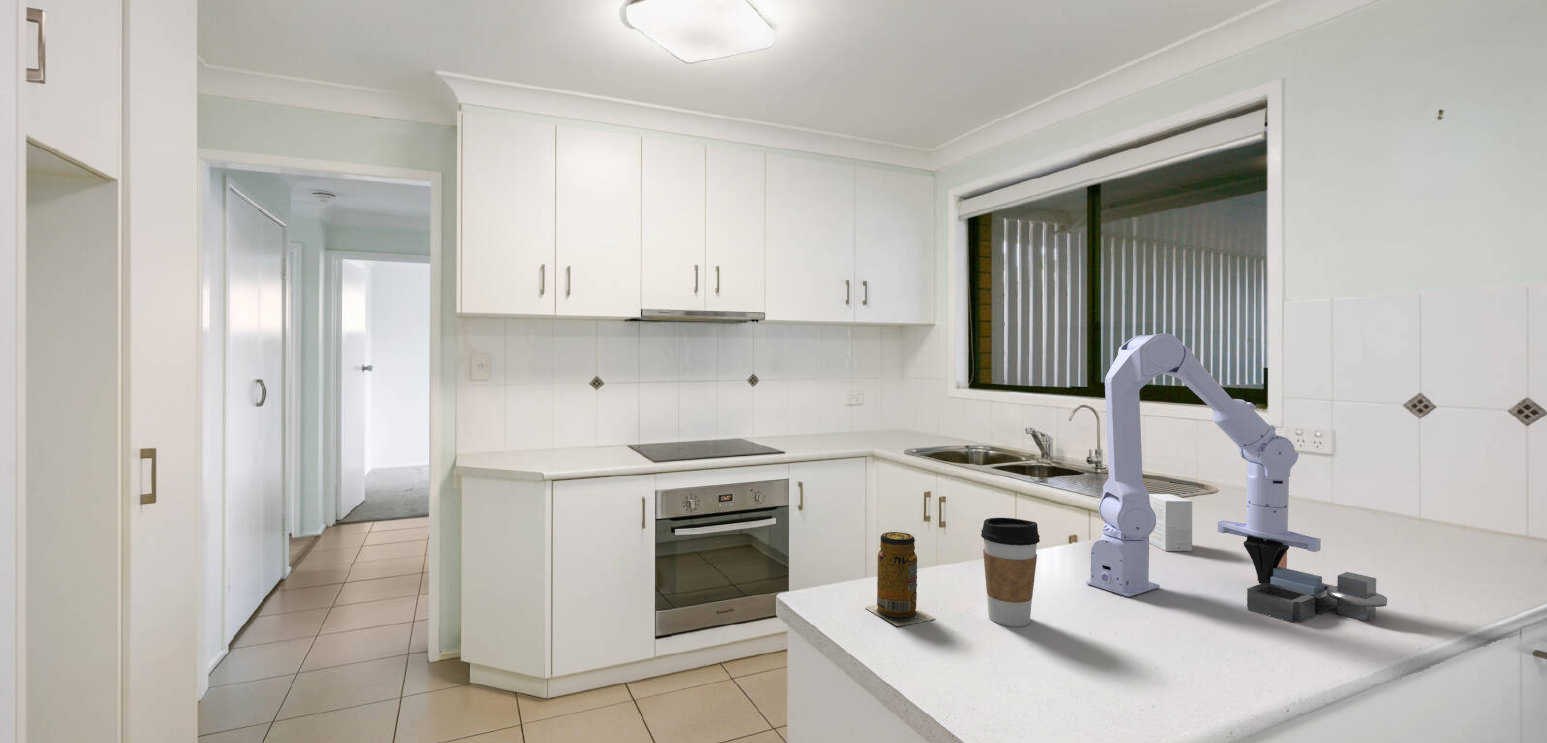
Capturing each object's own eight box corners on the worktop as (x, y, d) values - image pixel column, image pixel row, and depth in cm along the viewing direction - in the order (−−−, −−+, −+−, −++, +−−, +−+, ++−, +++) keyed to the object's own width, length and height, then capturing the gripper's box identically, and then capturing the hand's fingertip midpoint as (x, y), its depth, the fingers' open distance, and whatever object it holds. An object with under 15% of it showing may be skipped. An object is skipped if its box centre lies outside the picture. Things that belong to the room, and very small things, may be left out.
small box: (1192, 552, 138) (1193, 501, 138) (1165, 551, 138) (1166, 501, 138) (1170, 541, 146) (1171, 493, 146) (1144, 541, 146) (1145, 493, 146)
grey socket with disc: (1352, 640, 95) (1353, 597, 95) (1238, 607, 107) (1239, 569, 107) (1397, 617, 103) (1398, 578, 103) (1286, 589, 116) (1287, 554, 116)
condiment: (901, 601, 109) (902, 528, 109) (936, 620, 101) (936, 541, 101) (864, 608, 106) (864, 533, 105) (896, 628, 98) (897, 546, 98)
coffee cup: (1010, 634, 96) (1011, 530, 96) (968, 614, 103) (969, 517, 103) (1051, 624, 100) (1052, 523, 100) (1007, 605, 107) (1008, 512, 107)
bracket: (1313, 607, 107) (1314, 579, 107) (1270, 596, 112) (1270, 569, 112) (1324, 603, 109) (1324, 575, 109) (1280, 592, 114) (1281, 565, 114)
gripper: (1329, 509, 110) (1327, 592, 110) (1232, 494, 122) (1230, 568, 123) (1310, 514, 106) (1308, 599, 107) (1212, 498, 119) (1210, 574, 119)
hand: (1265, 583), depth 114 cm, fingers closed
